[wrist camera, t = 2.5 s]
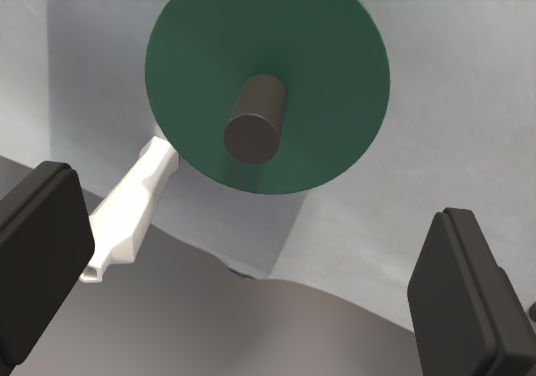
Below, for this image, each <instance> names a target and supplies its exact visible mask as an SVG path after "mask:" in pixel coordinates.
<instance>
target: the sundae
mask: <svg viewBox="0 0 536 376" xmlns="http://www.w3.org/2000/svg"><path fill="white" fill-rule="evenodd" d="M529 315H530V317H531V319H532V320H533V321H535V322H536V303H535V304H534V305H533V306H532V307H531V309H530V312H529Z"/></svg>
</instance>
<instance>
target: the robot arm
mask: <svg viewBox="0 0 536 376" xmlns="http://www.w3.org/2000/svg"><path fill="white" fill-rule="evenodd" d="M94 253H95V240H94V237H93V233H92V229H91V225H90V221H89V217H88V213H87V209H86V205H85V201H84V197H83V194H82V190H81V186H80V182H79V178H78V174H77V172H76V171H75V170H73V169H72V168H71V166H70V165H69V164H67V163H60V162H52V161H44V162H42V163H41V164H39V165H38V166H37V167H36V168H35V169H34V170H33V171H32V172H31V173H30V174H29V175H28V176H27V177H25V178H24V179H23V180H22V181H21V182H20V183H19V184H18V185H17V186H16V187H15V188H13V189H12V190H11V191H10V192H9V193H8V194H7V195H6V196H5V197H4V198H3V199H2V200H0V376H9V375H10V374H11V372H12V371H13V369H14V368H15V366H16V365H20V364H21V363H23V362H24V361H25V359H26V358H27V356H28V355H29V353H30V352H31V350H32V349H33V347H34V346H35V344H36V343H37V341H38V340H39V338H40V337H41V335H42V333H43V332H44V331H45V329H46V328H47V326H48V324H49V323H50V321H51V320H52V318H53V317H54V315H55V314H56V312H57V311H58V309H59V308H60V306H61V305H62V303H63V302H64V300H65V298H66V297H67V295H68V294H69V292H70V291H71V289H72V288H73V286H74V285H75V283H76V282H77V280H78V279H79V277H80V276H81V274H82V273H83V271H84V270H85V268H86V267H87V265H88V263H89V262H90V260H91V259H92V257H93V255H94ZM407 296H408V302H409V307H410V312H411V317H412V322H413V327H414V332H415V337H416V342H417V347H418V352H419V356H420V362H421V367H422V371H423V376H536V335H535V333H534V331H533V328H532V326H531V324H530V322H529V320H528V318H527V316H526V314H525V312H524V310H523V308H522V305H521V303H520V301H519V299H518V297H517V295H516V293H515V291H514V289H513V287H512V285H511V282H510V280H509V278H508V276H507V274H506V273H505V271H504V270H503V269H502V268H501V267H499V266H497V263H496V261H495V259H494V257H493V255H492V253H491V250H490V248H489V246H488V244H487V242H486V240H485V238H484V235H483V233H482V231H481V229H480V227H479V225H478V222H477V220H476V218H475V216H474V214H473V212H472V211H471V210H466V209H457V208H449V207H447V208H445V209H444V210H443V212H437V213H436V214H435V216H434V218H433V221H432V224H431V226H430V229H429V232H428V234H427V237H426V239H425V242H424V245H423V247H422V250H421V253H420V255H419V258H418V260H417V263H416V266H415V268H414V271H413V274H412V276H411V279H410V282H409V285H408V291H407Z"/></svg>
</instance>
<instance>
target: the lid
mask: <svg viewBox="0 0 536 376" xmlns="http://www.w3.org/2000/svg"><path fill="white" fill-rule="evenodd" d="M145 81H146V88H147V94H148V98H149V102H150V105H151V109H152V111H153V114H154V116H155V119H156V121H157V123H158V125H159V127H160V128H161V130H162V132H163V134H164V136H165V137H166V138H167V140H168V141H169V142H170V144H171V145H172V147H173V148H174V149H175V150H176V151H177V152H178V153H179V154H180V155H181V156H182V157H183V158H184V159H185V160H186V161H187V162H188V163H189V164H190V165H192V166H193V167H194V168H196V169H197V170H198V171H200V172H201V173H203V174H204V175H206V176H208V177H209V178H211V179H213V180H215V181H217V182H219V183H221V184H224V185H226V186H228V187H232V188H235V189H238V190H241V191H246V192H251V193H257V194H268V195H269V194H288V193H296V192H300V191H304V190H308V189H311V188H314V187H317V186H320V185H322V184H324V183H326V182H328V181H330V180H332V179H334V178H336V177H337V176H339V175H340V174H342V173H343V172H345V171H346V170H347V169H348V168H349V167H351V166H352V165H353V164H354V163H355V162H356V161H357V160H358V159H359V158H360V157H361V156H362V155H363V154H364V153H365V152H366V150H367V149H368V147H369V146H370V145H371V143H372V142H373V140H374V139H375V137H376V135H377V133H378V131H379V129H380V127H381V125H382V122H383V119H384V116H385V114H386V110H387V105H388V100H389V92H390V70H389V62H388V58H387V53H386V48H385V46H384V43H383V40H382V38H381V35H380V32H379V30H378V28H377V26H376V24H375V22H374V21H373V19H372V17H371V15H370V14H369V12H368V11H367V10H366V8H365V7H364V6H363V4H362V3H361V2H360V0H170V1H169V2H168V3H167V4H166V6H165V7H164V9H163V10H162V12H161V14H160V15H159V17H158V19H157V21H156V23H155V25H154V28H153V30H152V33H151V36H150V39H149V43H148V47H147V53H146V61H145Z"/></svg>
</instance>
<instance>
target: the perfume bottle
mask: <svg viewBox="0 0 536 376" xmlns="http://www.w3.org/2000/svg"><path fill="white" fill-rule="evenodd" d="M178 168H179V153H178V152H177V151H176V150H175V149H174V148H173V147H172V145H171V144H170V143H169V142H167V141H164V140H162V139H160V138H158V137H155V136H154V137H152V138H151V140H150V141H149V142H148V143H147V144H146V145H145V146H144V147H143V148H142V149H141V151H140V155H139V160H138V161H137V162H136V163H135V164H134V165H133V166H132V168H131V169H130V170H129V171H128V172H127V173H126V175H125V176H124V177H123V178H122V179H121V180H120V181H119V183H118V184H117V185H116V186H115V187H114V188H113V189H112V191H111V192H110V193H109V194H108V195H107V196H106V197H105V199H104V200H103V201H102V202H101V203H100V204H99V206H98V207H97V208H96V209H95V210H94V211H93V212H92V214H91V215H90V216H89V221H90V225H91V229H92V233H93V237H94V240H95V253H94V255H93V257H92V259H91V260H90V262H89V263H88V265H87V267H86V268H85V270H84V271H83V273H82V274H81V276H80V277H79V279H80V280H81V281H82V282H84V283H96V282H101V281H102V276H103V274H104V272H105V271H106V269H107V267H108V265H109V264H123V263H133V262H134V260H135V257H136V255H137V253H138V250H139V248H140V246H141V243H142V241H143V238H144V236H145V234H146V231H147V229H148V226H149V224H150V222H151V219H152V217H153V215H154V212H155V210H156V207H157V205H158V203H159V200H160V198H161V196H162V193H163V191H164V188H165V186H166V184H167V181H168V179H169V176H170V175H171V174H172V173H173V172H175V171H176V170H177V169H178Z"/></svg>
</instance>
